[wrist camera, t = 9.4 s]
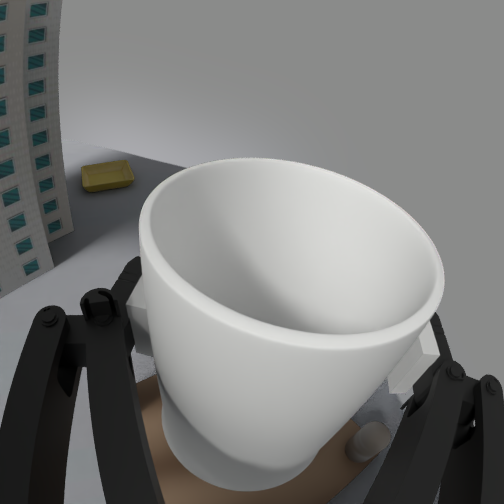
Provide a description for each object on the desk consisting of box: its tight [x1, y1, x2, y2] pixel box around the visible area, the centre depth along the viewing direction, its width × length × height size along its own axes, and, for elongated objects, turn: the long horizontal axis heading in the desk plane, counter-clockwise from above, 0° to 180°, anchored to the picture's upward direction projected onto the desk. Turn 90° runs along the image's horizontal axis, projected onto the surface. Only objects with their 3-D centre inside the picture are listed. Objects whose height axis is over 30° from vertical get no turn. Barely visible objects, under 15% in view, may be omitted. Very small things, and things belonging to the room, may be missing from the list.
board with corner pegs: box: [136, 374, 391, 504], centre depth 20 cm, size 16×16×4 cm
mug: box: [139, 158, 445, 491], centre depth 13 cm, size 12×8×12 cm
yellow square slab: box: [81, 160, 135, 192], centre depth 49 cm, size 9×9×2 cm
